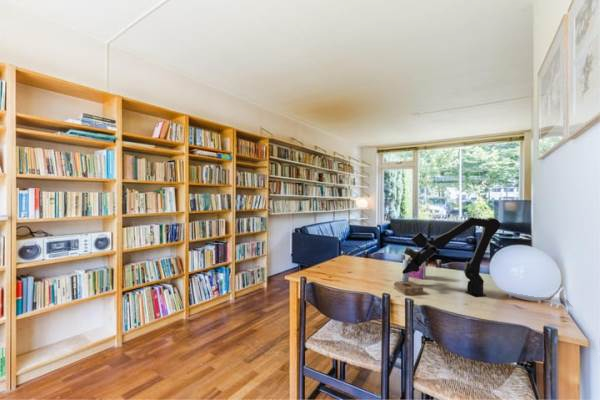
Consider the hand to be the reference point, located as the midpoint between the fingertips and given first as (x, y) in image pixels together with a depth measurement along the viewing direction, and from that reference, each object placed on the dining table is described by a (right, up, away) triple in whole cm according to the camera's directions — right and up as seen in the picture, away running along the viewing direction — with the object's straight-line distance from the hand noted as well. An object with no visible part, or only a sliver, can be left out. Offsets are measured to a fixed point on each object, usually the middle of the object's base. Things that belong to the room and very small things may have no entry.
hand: (403, 272), depth 154 cm
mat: (+3, -7, +1) cm, 8 cm away
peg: (+1, -6, -1) cm, 6 cm away
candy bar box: (+12, -7, +14) cm, 20 cm away
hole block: (-2, -7, -11) cm, 13 cm away
